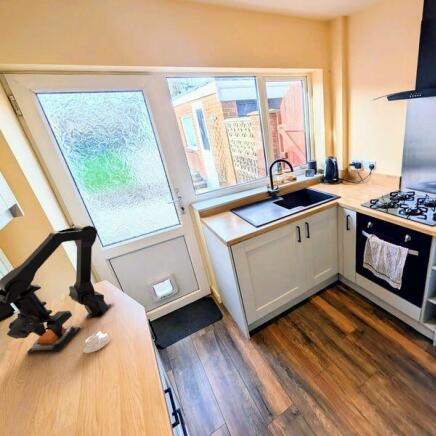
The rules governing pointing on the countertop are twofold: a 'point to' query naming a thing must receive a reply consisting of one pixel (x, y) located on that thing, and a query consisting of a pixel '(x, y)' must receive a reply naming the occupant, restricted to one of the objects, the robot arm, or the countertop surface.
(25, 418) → the countertop surface
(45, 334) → the orange block
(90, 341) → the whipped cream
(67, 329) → the mount plate
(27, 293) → the robot arm
